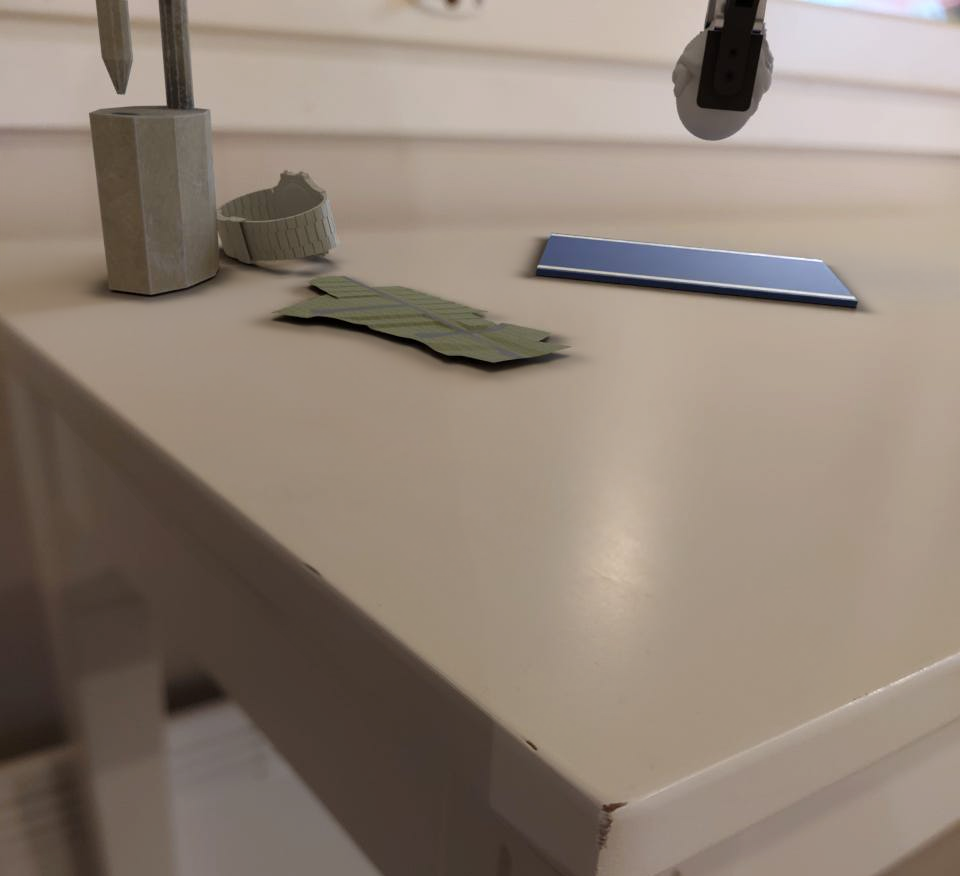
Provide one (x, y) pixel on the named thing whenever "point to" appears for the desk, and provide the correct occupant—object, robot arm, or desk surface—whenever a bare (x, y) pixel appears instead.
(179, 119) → the pencil holder
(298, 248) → the wristwatch
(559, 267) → the blue flat panel
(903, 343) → the desk surface
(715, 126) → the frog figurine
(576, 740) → the desk surface
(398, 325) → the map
